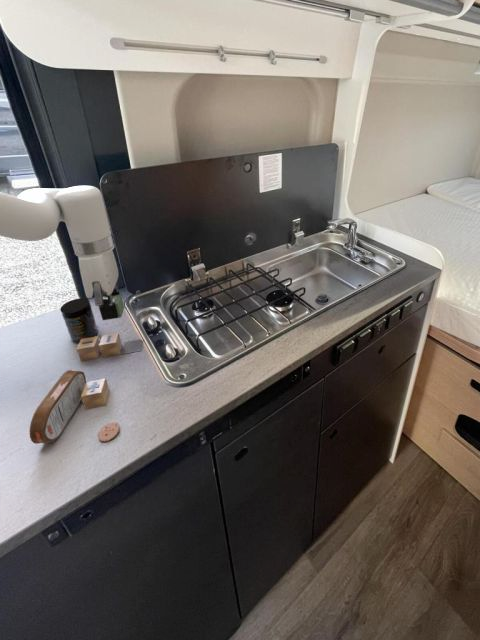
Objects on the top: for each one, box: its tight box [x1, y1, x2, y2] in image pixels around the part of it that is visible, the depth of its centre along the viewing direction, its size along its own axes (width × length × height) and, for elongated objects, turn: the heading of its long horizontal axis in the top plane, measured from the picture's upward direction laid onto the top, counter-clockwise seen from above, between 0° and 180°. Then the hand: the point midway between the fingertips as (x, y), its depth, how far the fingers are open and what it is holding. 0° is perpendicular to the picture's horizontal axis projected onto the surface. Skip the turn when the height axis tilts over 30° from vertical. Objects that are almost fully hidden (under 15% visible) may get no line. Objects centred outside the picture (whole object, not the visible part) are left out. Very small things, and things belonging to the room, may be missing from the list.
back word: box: [76, 332, 144, 362], centre depth 87 cm, size 14×5×4 cm, turn 107°
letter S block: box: [98, 294, 125, 321], centre depth 78 cm, size 4×4×4 cm
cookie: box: [97, 422, 120, 442], centre depth 66 cm, size 4×4×1 cm
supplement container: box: [59, 297, 99, 344], centre depth 90 cm, size 7×7×10 cm
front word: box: [81, 377, 110, 410], centre depth 73 cm, size 4×4×4 cm
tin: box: [29, 369, 87, 445], centre depth 68 cm, size 15×3×8 cm, turn 4°
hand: (112, 311), depth 78 cm, fingers closed on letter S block, 4 cm apart
